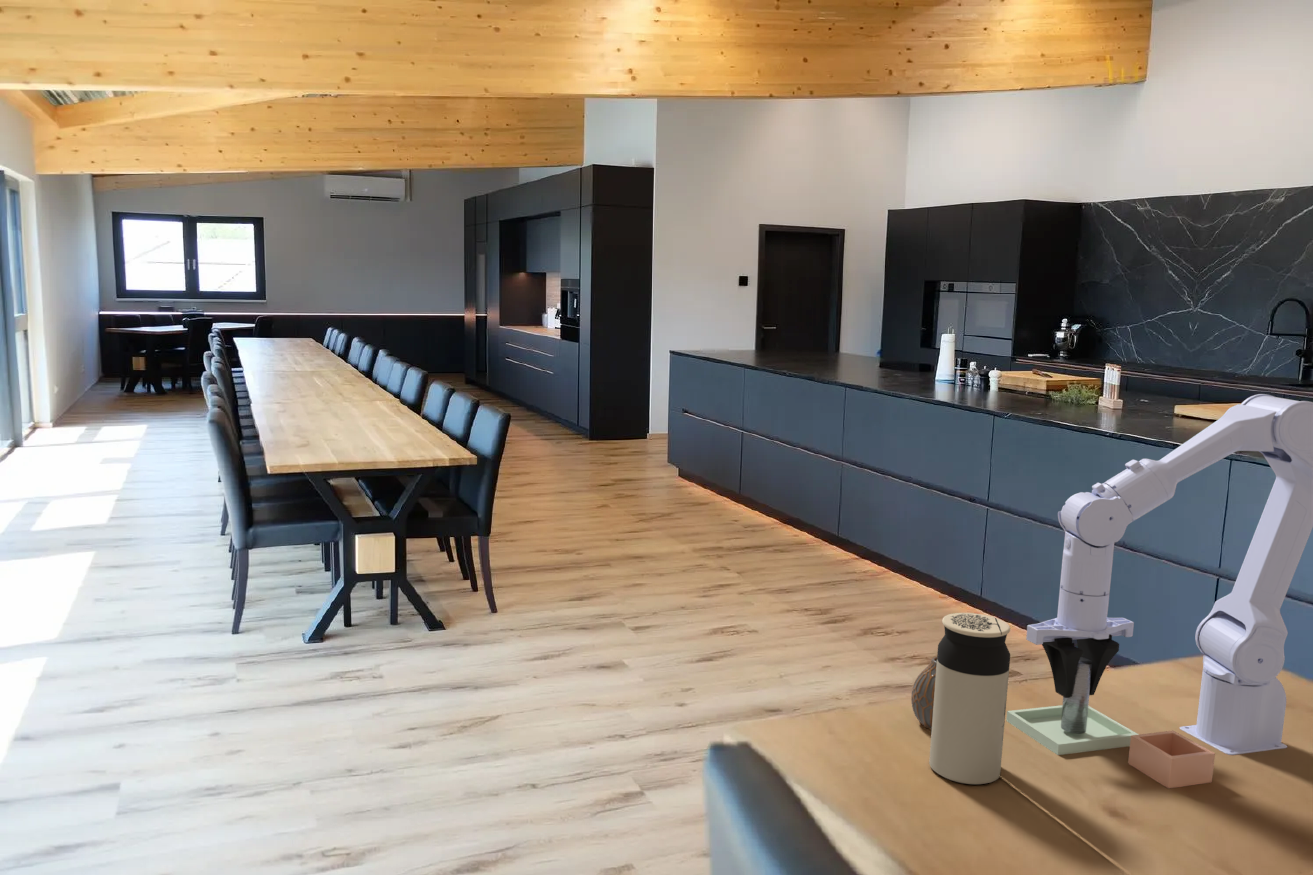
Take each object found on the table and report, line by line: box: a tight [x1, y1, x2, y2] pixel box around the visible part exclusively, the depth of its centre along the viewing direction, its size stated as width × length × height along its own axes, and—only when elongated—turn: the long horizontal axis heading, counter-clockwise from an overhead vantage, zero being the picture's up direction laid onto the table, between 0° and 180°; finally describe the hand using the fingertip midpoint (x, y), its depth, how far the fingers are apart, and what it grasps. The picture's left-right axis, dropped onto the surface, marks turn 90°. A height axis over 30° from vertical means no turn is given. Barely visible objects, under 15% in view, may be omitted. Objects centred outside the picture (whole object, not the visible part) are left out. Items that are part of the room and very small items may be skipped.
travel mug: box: [928, 612, 1011, 786], centre depth 116 cm, size 8×8×18 cm
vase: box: [911, 656, 937, 730], centre depth 129 cm, size 7×7×9 cm
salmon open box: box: [1127, 729, 1216, 789], centre depth 117 cm, size 6×6×4 cm
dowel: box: [1061, 657, 1092, 734], centre depth 126 cm, size 3×3×9 cm
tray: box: [1005, 704, 1140, 756], centre depth 127 cm, size 12×10×2 cm
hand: (1074, 693), depth 127 cm, fingers closed on dowel, 3 cm apart
